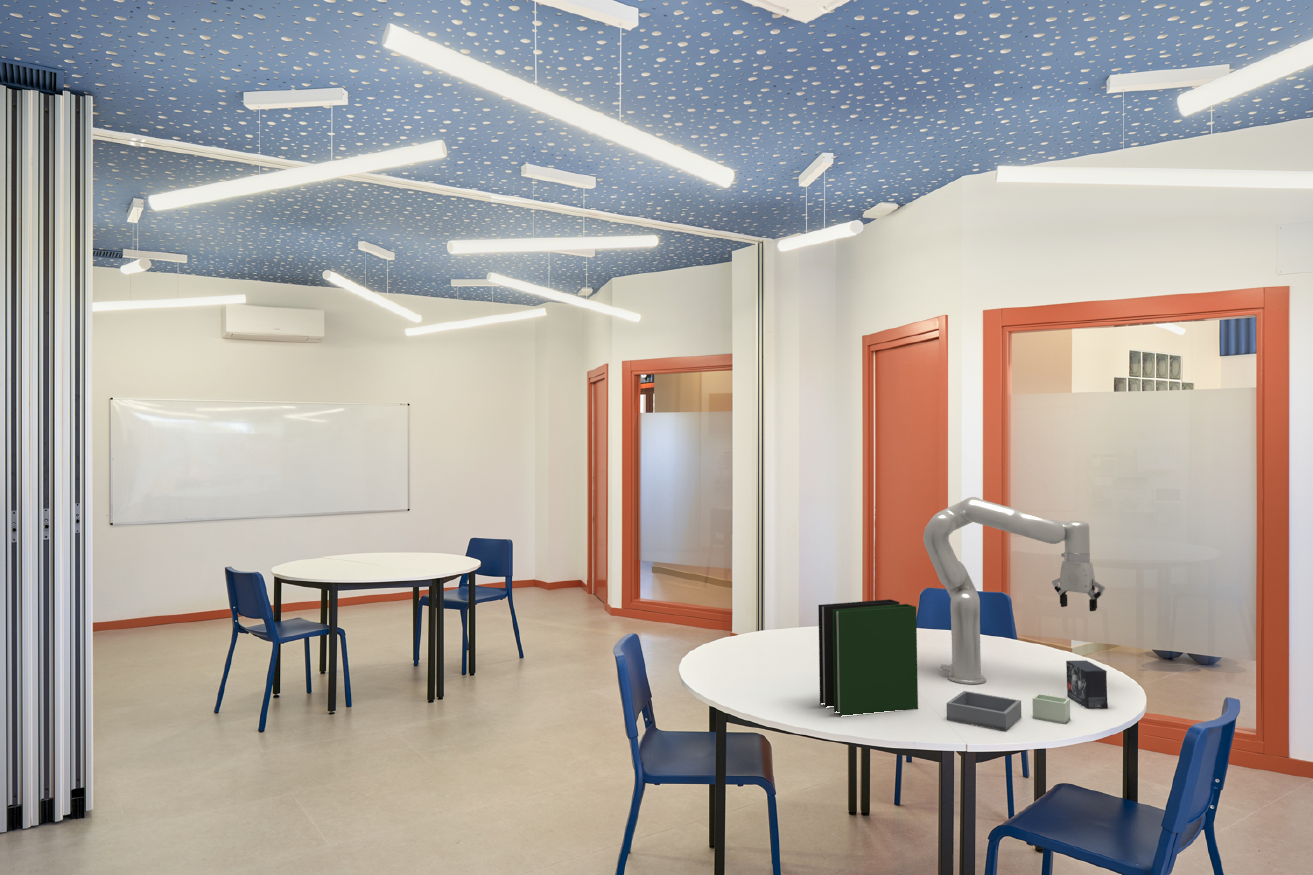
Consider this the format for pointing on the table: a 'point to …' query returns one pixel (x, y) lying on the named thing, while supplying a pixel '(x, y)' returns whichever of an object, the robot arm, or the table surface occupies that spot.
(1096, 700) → the small box
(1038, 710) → the small crate
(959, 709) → the big crate
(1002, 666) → the table surface
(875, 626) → the binder
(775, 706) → the table surface
